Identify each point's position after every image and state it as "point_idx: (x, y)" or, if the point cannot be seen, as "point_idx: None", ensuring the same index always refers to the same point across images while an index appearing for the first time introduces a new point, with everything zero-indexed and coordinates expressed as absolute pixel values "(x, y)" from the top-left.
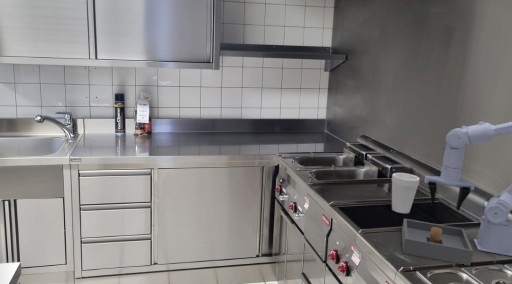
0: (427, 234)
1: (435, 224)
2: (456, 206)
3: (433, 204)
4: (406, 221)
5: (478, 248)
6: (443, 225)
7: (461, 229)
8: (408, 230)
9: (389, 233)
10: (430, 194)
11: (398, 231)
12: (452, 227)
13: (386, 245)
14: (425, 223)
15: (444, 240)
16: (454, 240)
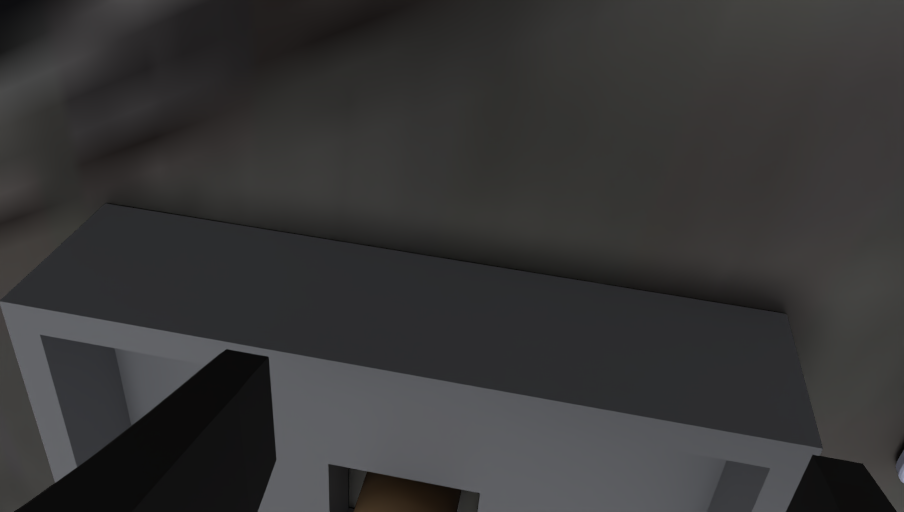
0: (346, 403)
1: (412, 392)
2: (818, 493)
3: (252, 498)
4: (51, 382)
5: (902, 478)
6: (525, 400)
7: (768, 466)
8: (144, 355)
9: (6, 283)
10: (41, 499)
11: (73, 208)
12: (645, 437)
13: None
14: (282, 375)
15: (510, 498)
16: (629, 483)
